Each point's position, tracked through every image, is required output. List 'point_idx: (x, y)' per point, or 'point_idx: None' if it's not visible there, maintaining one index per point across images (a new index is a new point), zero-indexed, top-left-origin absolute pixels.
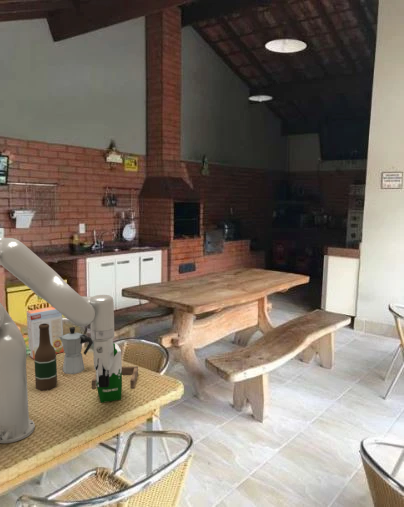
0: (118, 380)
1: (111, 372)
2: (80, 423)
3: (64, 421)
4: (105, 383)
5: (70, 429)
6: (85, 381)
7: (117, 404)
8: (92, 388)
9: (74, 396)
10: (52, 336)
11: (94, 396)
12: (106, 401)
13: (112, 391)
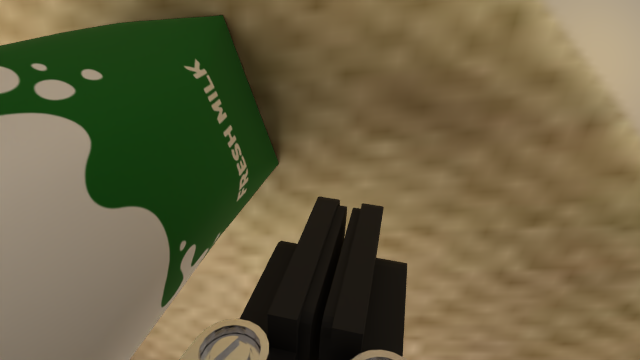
0: (122, 77)
1: (99, 228)
2: (549, 269)
3: (492, 340)
4: (404, 278)
5: (611, 316)
6: None
7: (302, 37)
8: None
9: (205, 299)
10: None
11: None
12: (265, 128)
13: (226, 109)
